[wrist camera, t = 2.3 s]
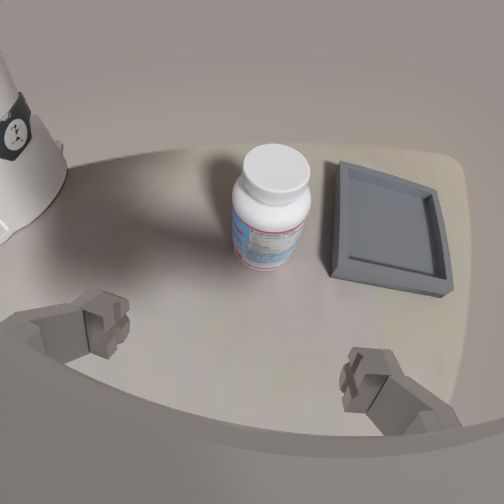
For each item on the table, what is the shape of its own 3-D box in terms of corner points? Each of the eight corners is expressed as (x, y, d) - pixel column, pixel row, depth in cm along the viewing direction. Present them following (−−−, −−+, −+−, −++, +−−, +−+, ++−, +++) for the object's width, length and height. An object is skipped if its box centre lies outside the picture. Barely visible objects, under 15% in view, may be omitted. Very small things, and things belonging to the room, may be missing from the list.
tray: (330, 277, 27) (337, 266, 25) (334, 174, 33) (340, 160, 31) (441, 297, 26) (453, 289, 24) (427, 201, 33) (436, 190, 30)
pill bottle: (236, 217, 30) (237, 132, 20) (294, 223, 30) (318, 142, 20) (228, 270, 27) (224, 194, 17) (292, 276, 27) (323, 205, 17)
